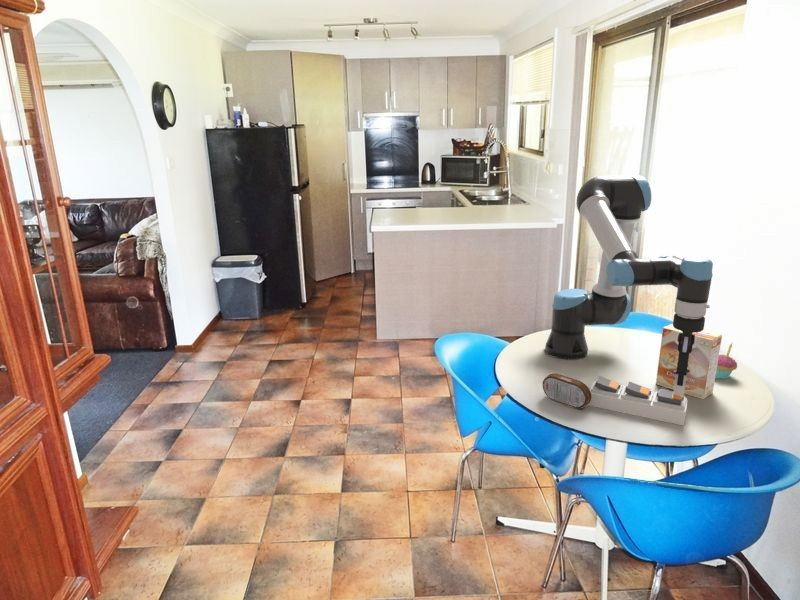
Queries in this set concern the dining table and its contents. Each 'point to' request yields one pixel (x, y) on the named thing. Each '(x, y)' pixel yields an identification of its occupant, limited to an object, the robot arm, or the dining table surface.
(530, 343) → the dining table surface
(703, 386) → the coffeecake box
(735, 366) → the cupcake
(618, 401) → the rocker switch box
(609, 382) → the rocker left
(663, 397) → the rocker right
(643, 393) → the rocker middle
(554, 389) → the tin
